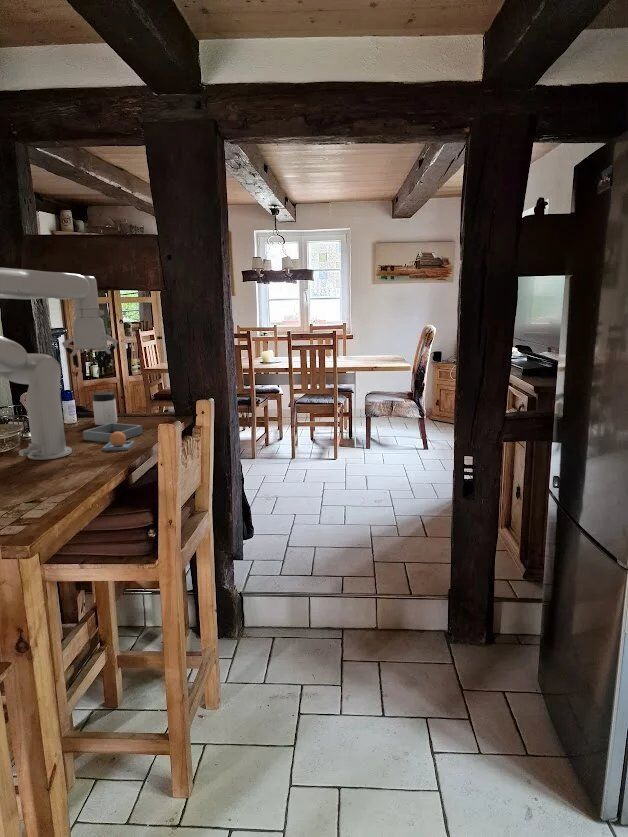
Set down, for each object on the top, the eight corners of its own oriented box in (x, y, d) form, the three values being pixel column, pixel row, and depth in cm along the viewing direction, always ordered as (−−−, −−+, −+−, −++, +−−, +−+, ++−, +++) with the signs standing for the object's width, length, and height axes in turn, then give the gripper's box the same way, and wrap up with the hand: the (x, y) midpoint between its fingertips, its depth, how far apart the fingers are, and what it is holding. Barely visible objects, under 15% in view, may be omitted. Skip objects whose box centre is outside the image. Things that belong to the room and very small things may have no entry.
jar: (99, 426, 213) (96, 395, 210) (90, 423, 219) (87, 393, 216) (121, 422, 219) (119, 392, 216) (112, 419, 225) (110, 390, 222)
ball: (119, 449, 179) (117, 434, 178) (107, 447, 181) (105, 432, 180) (130, 445, 184) (128, 430, 183) (118, 443, 186) (116, 429, 185)
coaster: (127, 450, 179) (127, 447, 179) (102, 450, 179) (102, 447, 178) (134, 443, 187) (134, 440, 187) (110, 444, 186) (110, 441, 186)
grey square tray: (115, 443, 188) (114, 434, 188) (83, 439, 193) (82, 431, 193) (142, 433, 201) (142, 425, 200) (112, 430, 206) (111, 422, 205)
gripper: (115, 313, 189) (120, 363, 193) (60, 315, 184) (66, 366, 188) (115, 314, 182) (120, 366, 186) (57, 315, 177) (63, 369, 181)
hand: (92, 366), depth 187 cm, fingers open, 9 cm apart
